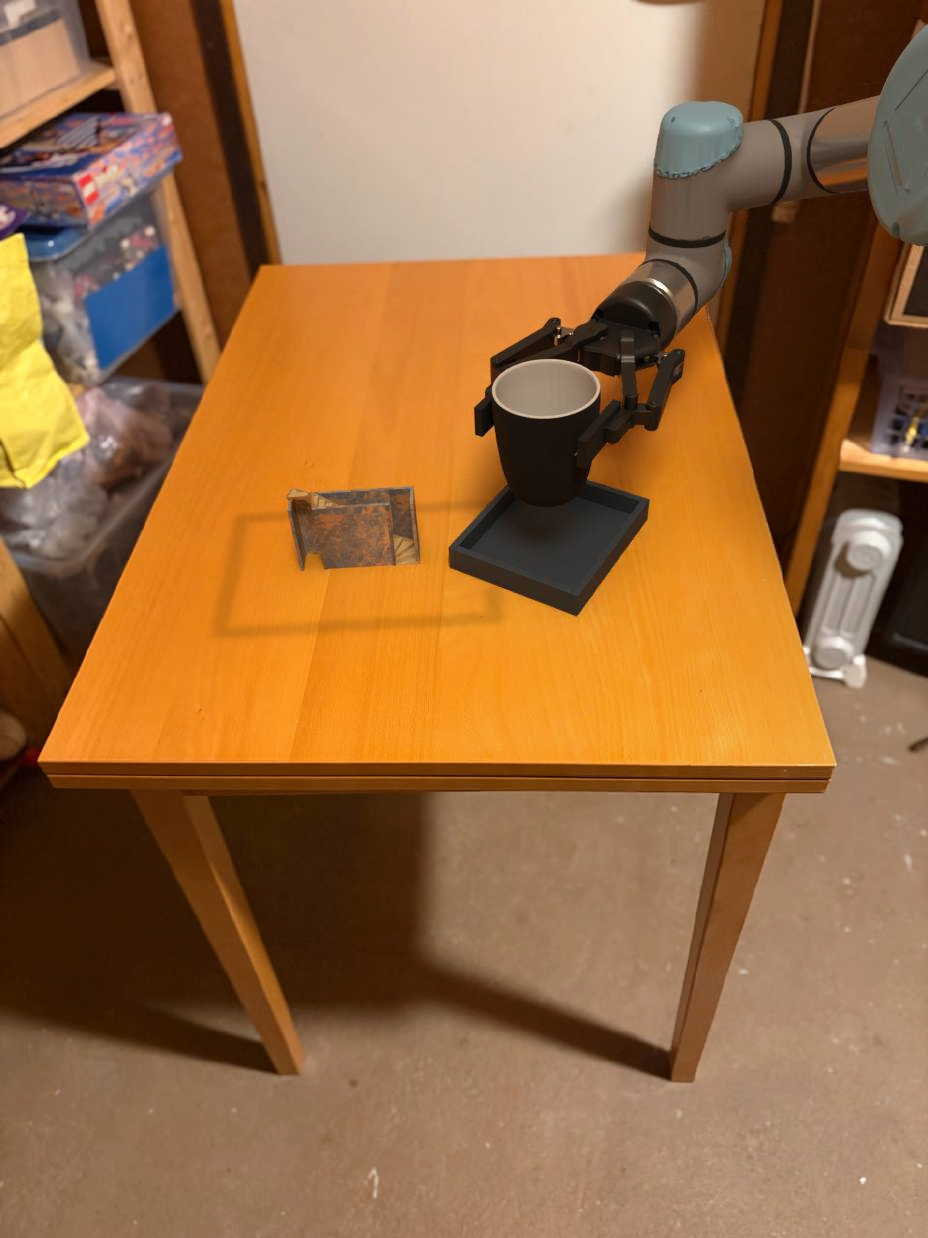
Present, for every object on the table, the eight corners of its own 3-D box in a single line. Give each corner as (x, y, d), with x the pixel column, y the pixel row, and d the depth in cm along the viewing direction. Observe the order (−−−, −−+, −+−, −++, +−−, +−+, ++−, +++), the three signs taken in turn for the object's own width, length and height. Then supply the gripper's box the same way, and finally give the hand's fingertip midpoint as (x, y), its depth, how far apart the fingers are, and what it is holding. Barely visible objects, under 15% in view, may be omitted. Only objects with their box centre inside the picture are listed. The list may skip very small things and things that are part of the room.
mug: (583, 525, 79) (585, 424, 72) (483, 508, 81) (476, 409, 74) (615, 444, 87) (620, 346, 79) (522, 432, 89) (520, 335, 82)
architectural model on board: (301, 577, 88) (282, 495, 81) (304, 555, 90) (285, 474, 83) (420, 570, 88) (411, 488, 81) (420, 549, 90) (411, 467, 83)
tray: (647, 519, 91) (650, 498, 90) (577, 616, 82) (578, 596, 81) (528, 480, 97) (528, 460, 95) (449, 567, 88) (448, 547, 86)
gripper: (743, 380, 88) (646, 513, 75) (541, 328, 96) (422, 440, 83) (758, 305, 82) (655, 435, 69) (542, 258, 91) (415, 365, 78)
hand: (528, 437), depth 76 cm, fingers closed on mug, 9 cm apart
